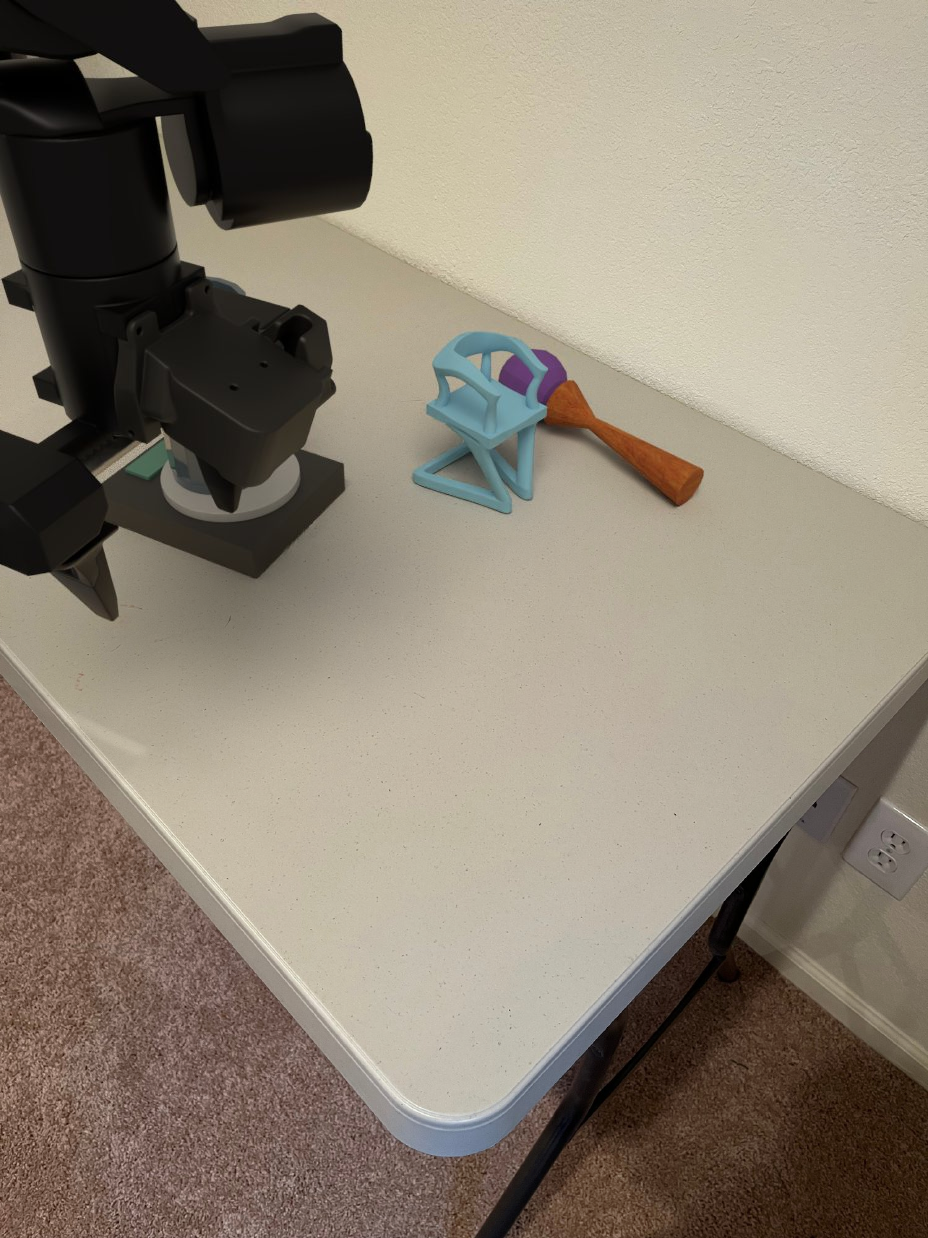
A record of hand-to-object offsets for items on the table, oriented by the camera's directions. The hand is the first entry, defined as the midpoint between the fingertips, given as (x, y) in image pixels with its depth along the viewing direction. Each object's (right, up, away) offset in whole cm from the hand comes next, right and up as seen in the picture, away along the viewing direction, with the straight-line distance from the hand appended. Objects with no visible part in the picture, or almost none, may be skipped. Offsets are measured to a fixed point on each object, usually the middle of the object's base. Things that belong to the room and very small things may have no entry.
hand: (171, 559), depth 45 cm
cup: (-4, +8, +22) cm, 24 cm away
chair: (+16, +8, +28) cm, 33 cm away
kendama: (+25, +11, +32) cm, 42 cm away
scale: (-4, +6, +24) cm, 25 cm away
